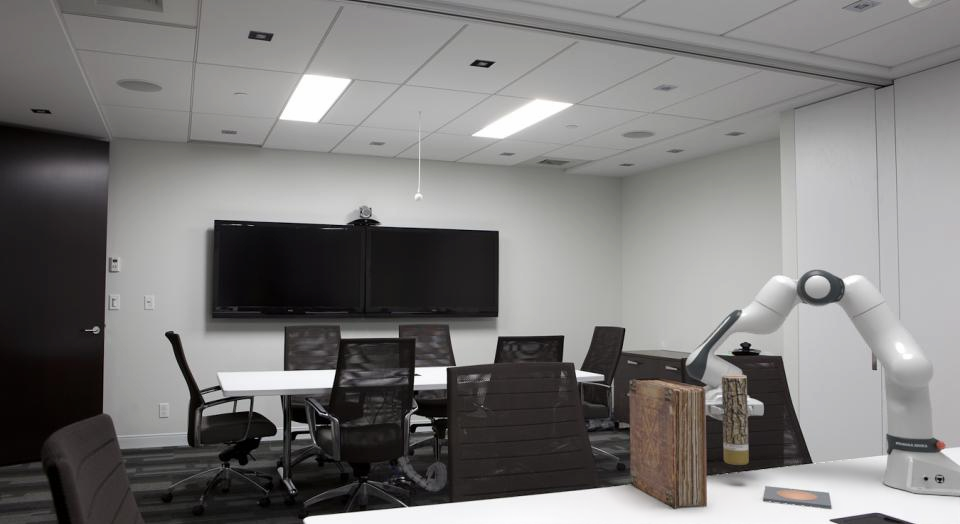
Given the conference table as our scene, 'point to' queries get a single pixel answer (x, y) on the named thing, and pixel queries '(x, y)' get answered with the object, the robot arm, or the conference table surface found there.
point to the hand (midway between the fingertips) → (736, 411)
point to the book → (668, 441)
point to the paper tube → (735, 419)
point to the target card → (797, 497)
